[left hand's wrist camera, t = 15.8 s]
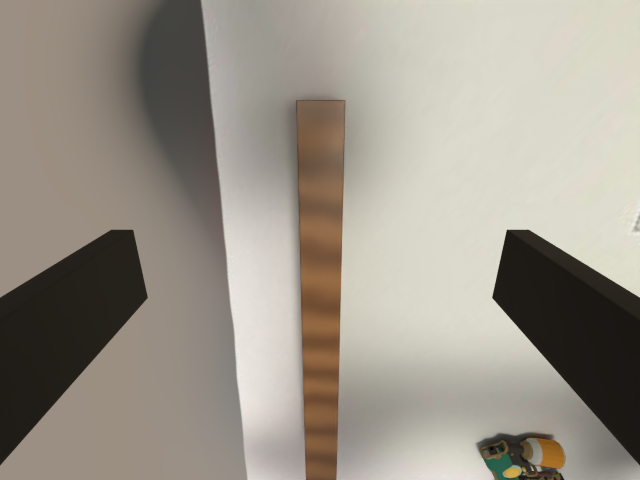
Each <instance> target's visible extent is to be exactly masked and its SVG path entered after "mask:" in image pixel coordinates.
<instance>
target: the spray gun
mask: <svg viewBox="0 0 640 480" xmlns="http://www.w3.org/2000/svg"><path fill="white" fill-rule="evenodd" d="M502 443H503V445H502V446H499V445H501V444H502ZM496 446H497V448H496ZM487 448H488V450H485V451H483V453H482V450H483V449H487ZM480 452H481V455H482V457H483V459H484V461H485V463H486V465H487V467H488V468H489V469H490V470H491V471H492V473H493V476H494V478H495V479H496V480H564V478H563V476H562V475H561V473H558V472H557V471H555V472H554V474H553V475H551V474H550V473H548V472H537V469H536V467H535V466H534V465H538V466H545V467H551V468H558V469H560V468H562V467H563V466H564V464H565V453H564V450H563V448H562V447H561V445H560V444H559V443H558V442H556V441H554V440H547V439H540V438H527V439H526V440H525V441H521V442H520V444H515V443H510V442H505V441H503V440H501V441H500V442H499V443H495V444H492V445H488V446H484V447H482V448H480ZM520 454H521V455H522V457H521V456H520ZM528 461H529V462H528ZM530 465H531V466H532V467H533V469H534V471H532V469H531V467H530ZM527 472H528V473H529V474H528V473H527ZM524 473H525V475H526V476H528V477H535V476H540V477H541V478H540V479H527V478H526V477H524V478H523V477H520V478H518V477H519V476H521V475H522V474H524ZM544 476H546V477H544Z"/></svg>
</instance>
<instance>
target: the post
mask: <svg viewBox="0 0 640 480" xmlns="http://www.w3.org/2000/svg"><path fill="white" fill-rule="evenodd" d="M296 108H297V147H298V186H299V225H300V265H301V304H302V343H303V382H304V422H305V461H306V480H336V471H337V429H338V386H339V344H340V301H341V258H342V216H343V173H344V130H345V100H297V101H296Z"/></svg>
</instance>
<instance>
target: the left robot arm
mask: <svg viewBox="0 0 640 480" xmlns="http://www.w3.org/2000/svg"><path fill="white" fill-rule="evenodd" d="M147 298H148V297H147V292H146V288H145V283H144V278H143V274H142V269H141V264H140V260H139V255H138V250H137V246H136V241H135V237H134V232H133V230H110V231H109V232H107V233H105V234H104V235H102V236H100V237H99V238H97V239H96V240H94V241H92V242H91V243H89V244H87V245H86V246H84V247H82V248H81V249H79V250H77V251H76V252H74V253H73V254H71V255H69V256H68V257H66V258H64V259H63V260H61V261H60V262H58V263H56V264H55V265H53V266H51V267H50V268H48V269H46V270H45V271H43V272H41V273H40V274H38V275H37V276H35V277H33V278H32V279H30V280H28V281H27V282H25V283H23V284H22V285H20V286H19V287H17V288H15V289H14V290H12V291H10V292H9V293H7V294H6V295H4V296H2V297H1V298H0V465H1V464H2V463H3V461H4V460H5V459H6V458H7V457H8V456H9V455H10V454H11V452H12V451H13V450H14V449H15V448H16V447H17V446H18V444H19V443H20V442H21V441H22V440H23V439H24V438H25V436H26V435H27V434H28V433H29V432H30V431H31V430H32V429H33V427H34V426H35V425H36V424H37V423H38V422H39V421H40V419H41V418H42V417H43V416H44V415H45V414H46V413H47V412H48V410H49V409H50V408H51V407H52V406H53V405H54V404H55V402H56V401H57V400H58V399H59V398H60V397H61V396H62V395H63V393H64V392H65V391H66V390H67V389H68V388H69V387H70V385H71V384H72V383H73V382H74V381H75V380H76V379H77V377H78V376H79V375H80V374H81V373H82V372H83V371H84V370H85V368H86V367H87V366H88V365H89V364H90V363H91V362H92V360H93V359H94V358H95V357H96V356H97V355H98V354H99V353H100V351H101V350H102V349H103V348H104V347H105V346H106V345H107V343H108V342H109V341H110V340H111V339H112V338H113V337H114V336H115V334H116V333H117V332H118V331H119V330H120V329H121V328H122V326H123V325H124V324H125V323H126V322H127V321H128V320H129V318H130V317H131V316H132V315H133V314H134V313H135V312H136V310H137V309H138V308H139V307H140V306H141V305H142V304H143V303H144V301H145V300H146V299H147ZM492 298H493V299H494V300H495V301H496V303H497V304H498V305H499V306H500V307H501V308H502V309H503V311H504V312H505V313H506V314H507V315H508V316H509V317H510V319H511V320H512V321H513V322H514V323H515V324H516V325H517V326H518V328H519V329H520V330H521V331H522V332H523V333H524V334H525V336H526V337H527V338H528V339H529V340H530V341H531V342H532V343H533V345H534V346H535V347H536V348H537V349H538V350H539V351H540V353H541V354H542V355H543V356H544V357H545V358H546V359H547V360H548V362H549V363H550V364H551V365H552V366H553V367H554V368H555V370H556V371H557V372H558V373H559V374H560V375H561V376H562V378H563V379H564V380H565V381H566V382H567V383H568V384H569V385H570V387H571V388H572V389H573V390H574V391H575V392H576V393H577V395H578V396H579V397H580V398H581V399H582V400H583V401H584V402H585V404H586V405H587V406H588V407H589V408H590V409H591V410H592V412H593V413H594V414H595V415H596V416H597V417H598V418H599V419H600V421H601V422H602V423H603V424H604V425H605V426H606V427H607V429H608V430H609V431H610V432H611V433H612V434H613V435H614V437H615V438H616V439H617V440H618V441H619V442H620V443H621V444H622V446H623V447H624V448H625V449H626V450H627V451H628V452H629V454H630V455H631V456H632V457H633V458H634V459H635V460H636V461H637V463H638V464H639V465H640V298H639V297H638V296H636V295H635V294H633V293H631V292H630V291H628V290H626V289H625V288H623V287H621V286H620V285H618V284H617V283H615V282H613V281H612V280H610V279H608V278H607V277H605V276H603V275H602V274H600V273H599V272H597V271H595V270H594V269H592V268H590V267H589V266H587V265H585V264H584V263H582V262H581V261H579V260H577V259H576V258H574V257H572V256H571V255H569V254H567V253H566V252H564V251H563V250H561V249H559V248H558V247H556V246H554V245H553V244H551V243H549V242H548V241H546V240H545V239H543V238H541V237H540V236H538V235H536V234H535V233H533V232H531V231H530V230H507V232H506V236H505V241H504V246H503V250H502V255H501V260H500V264H499V269H498V274H497V278H496V283H495V288H494V292H493V297H492Z"/></svg>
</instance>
